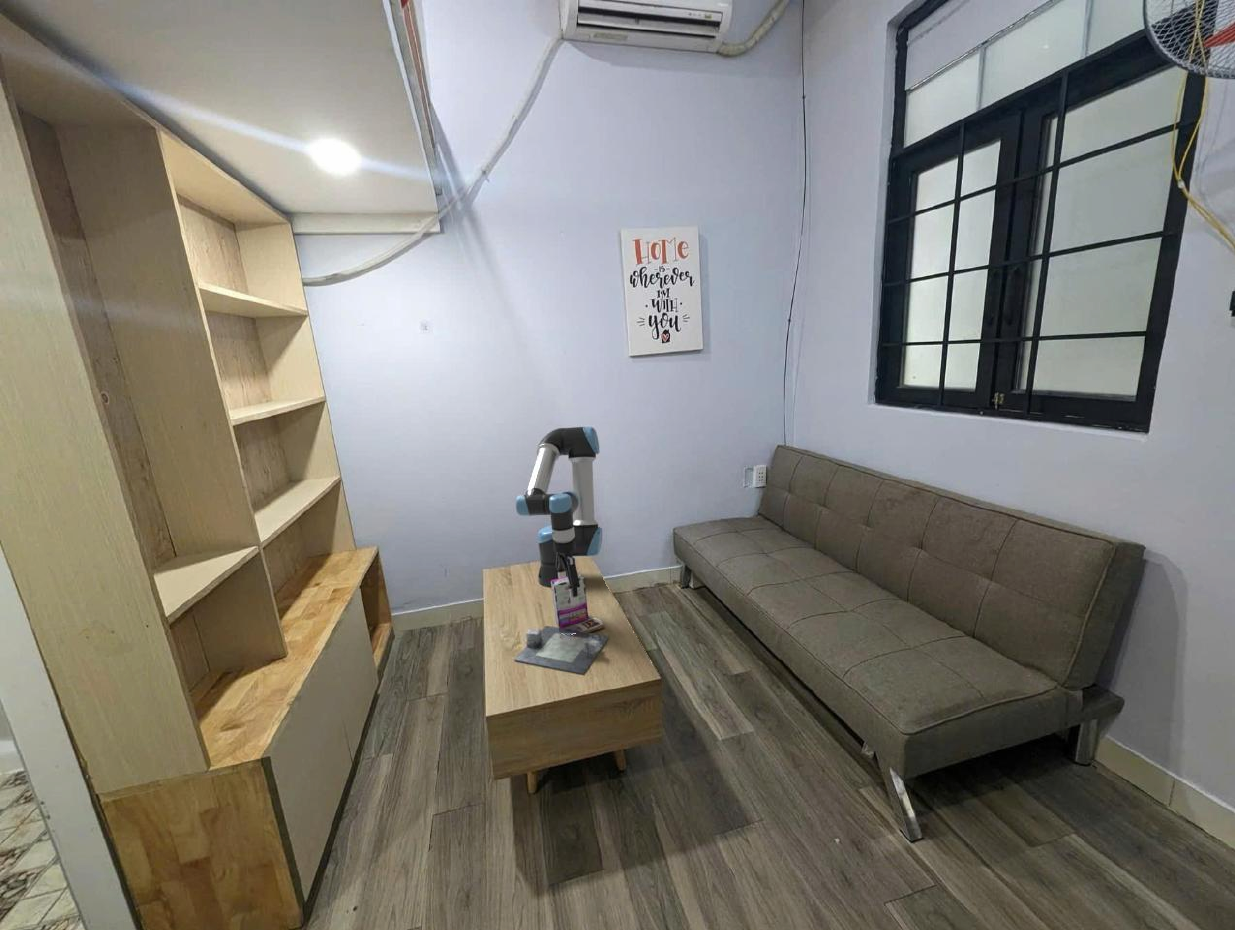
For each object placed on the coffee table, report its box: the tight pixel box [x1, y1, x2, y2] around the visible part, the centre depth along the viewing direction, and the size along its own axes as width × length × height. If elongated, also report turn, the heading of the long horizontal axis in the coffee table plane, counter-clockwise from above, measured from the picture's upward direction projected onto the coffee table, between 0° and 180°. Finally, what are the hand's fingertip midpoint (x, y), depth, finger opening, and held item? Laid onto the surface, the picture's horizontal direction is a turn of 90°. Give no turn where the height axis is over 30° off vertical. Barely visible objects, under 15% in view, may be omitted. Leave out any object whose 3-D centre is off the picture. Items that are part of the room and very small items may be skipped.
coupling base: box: [513, 625, 610, 675], centre depth 155 cm, size 26×20×5 cm
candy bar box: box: [551, 572, 589, 628], centre depth 170 cm, size 11×5×16 cm, turn 114°
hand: (569, 596), depth 169 cm, fingers open, 13 cm apart
